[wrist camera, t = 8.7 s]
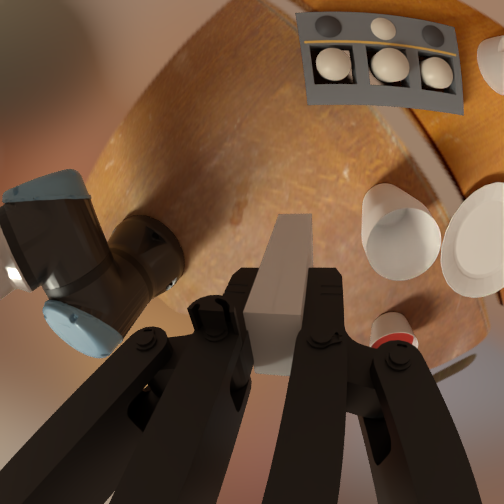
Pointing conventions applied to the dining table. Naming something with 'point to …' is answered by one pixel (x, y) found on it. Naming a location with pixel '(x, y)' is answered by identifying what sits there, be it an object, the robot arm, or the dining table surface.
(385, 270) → the cup
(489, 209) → the plate
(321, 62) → the button
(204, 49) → the dining table surface
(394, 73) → the button
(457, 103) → the board
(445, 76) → the button
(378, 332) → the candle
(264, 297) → the robot arm
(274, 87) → the dining table surface
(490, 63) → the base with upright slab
